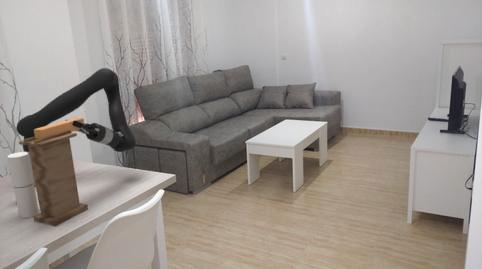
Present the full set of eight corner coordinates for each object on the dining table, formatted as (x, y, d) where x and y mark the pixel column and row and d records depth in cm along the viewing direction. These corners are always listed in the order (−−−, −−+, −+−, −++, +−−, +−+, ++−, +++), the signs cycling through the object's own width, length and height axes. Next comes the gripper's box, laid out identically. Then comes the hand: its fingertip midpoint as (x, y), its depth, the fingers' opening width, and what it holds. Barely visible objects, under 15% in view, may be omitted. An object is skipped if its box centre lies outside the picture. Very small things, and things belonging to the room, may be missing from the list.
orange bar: (35, 139, 151) (33, 129, 150) (77, 127, 169) (76, 117, 168) (43, 140, 150) (41, 130, 149) (84, 127, 167) (83, 118, 166)
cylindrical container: (25, 219, 160) (13, 158, 154) (15, 215, 164) (3, 156, 157) (42, 211, 166) (31, 153, 160) (32, 208, 170) (21, 151, 163)
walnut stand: (34, 221, 158) (18, 139, 150) (67, 204, 172) (54, 128, 163) (55, 226, 153) (40, 141, 144) (88, 209, 167) (76, 130, 158)
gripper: (89, 124, 181) (59, 112, 166) (114, 126, 175) (84, 114, 160) (85, 140, 180) (54, 130, 165) (110, 143, 173) (79, 132, 158)
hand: (69, 122), depth 162 cm, fingers closed on orange bar, 4 cm apart
